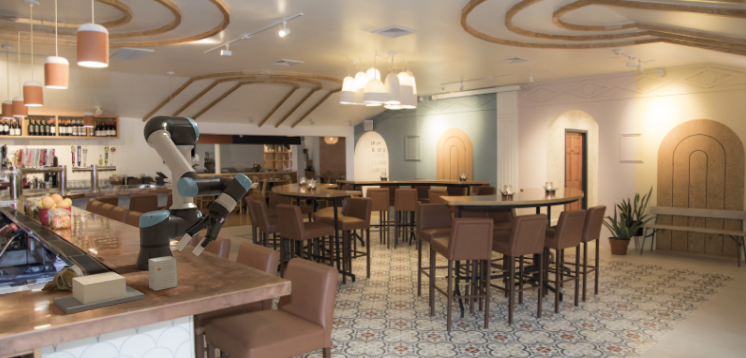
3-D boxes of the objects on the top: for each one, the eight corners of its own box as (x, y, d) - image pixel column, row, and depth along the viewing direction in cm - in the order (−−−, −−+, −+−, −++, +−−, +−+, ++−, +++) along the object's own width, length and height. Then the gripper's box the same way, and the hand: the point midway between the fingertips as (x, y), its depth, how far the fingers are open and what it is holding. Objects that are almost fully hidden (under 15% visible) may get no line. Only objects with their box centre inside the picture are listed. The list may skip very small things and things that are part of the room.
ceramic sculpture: (90, 259, 176) (72, 271, 161) (92, 282, 177) (74, 296, 162) (59, 260, 174) (37, 273, 160) (60, 283, 175) (39, 298, 160)
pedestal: (53, 303, 152) (52, 279, 152) (126, 289, 168) (125, 268, 168) (67, 314, 141) (67, 289, 141) (144, 298, 157) (143, 276, 157)
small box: (171, 283, 175) (170, 255, 175) (177, 286, 171) (176, 257, 171) (148, 288, 170) (148, 258, 169) (154, 291, 166) (153, 261, 165)
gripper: (245, 216, 179) (210, 262, 169) (212, 211, 196) (178, 253, 186) (233, 203, 175) (195, 249, 164) (199, 199, 192) (164, 241, 181)
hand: (186, 251), depth 175 cm, fingers open, 13 cm apart
